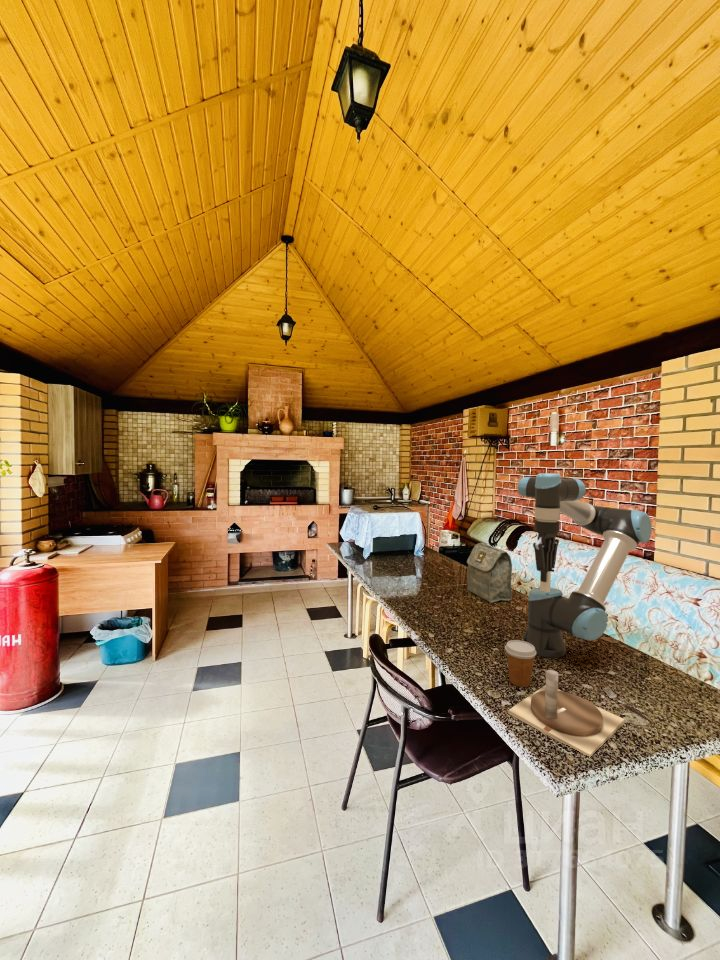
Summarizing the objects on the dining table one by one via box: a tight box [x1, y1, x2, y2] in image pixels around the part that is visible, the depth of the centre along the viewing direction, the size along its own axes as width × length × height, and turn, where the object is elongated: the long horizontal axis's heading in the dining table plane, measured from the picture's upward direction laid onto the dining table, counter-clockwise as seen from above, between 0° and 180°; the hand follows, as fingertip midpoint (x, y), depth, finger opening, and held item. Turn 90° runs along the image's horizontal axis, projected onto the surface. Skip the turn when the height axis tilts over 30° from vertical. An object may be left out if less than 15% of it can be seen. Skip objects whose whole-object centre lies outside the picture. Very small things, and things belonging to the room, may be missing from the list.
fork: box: [602, 686, 654, 724], centre depth 118 cm, size 3×16×2 cm, turn 14°
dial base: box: [507, 684, 626, 758], centre depth 113 cm, size 22×22×1 cm
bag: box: [466, 541, 513, 604], centre depth 214 cm, size 22×16×27 cm
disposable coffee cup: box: [504, 639, 537, 688], centre depth 131 cm, size 10×10×12 cm
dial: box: [531, 669, 603, 735], centre depth 113 cm, size 18×18×14 cm
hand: (545, 590), depth 133 cm, fingers closed
